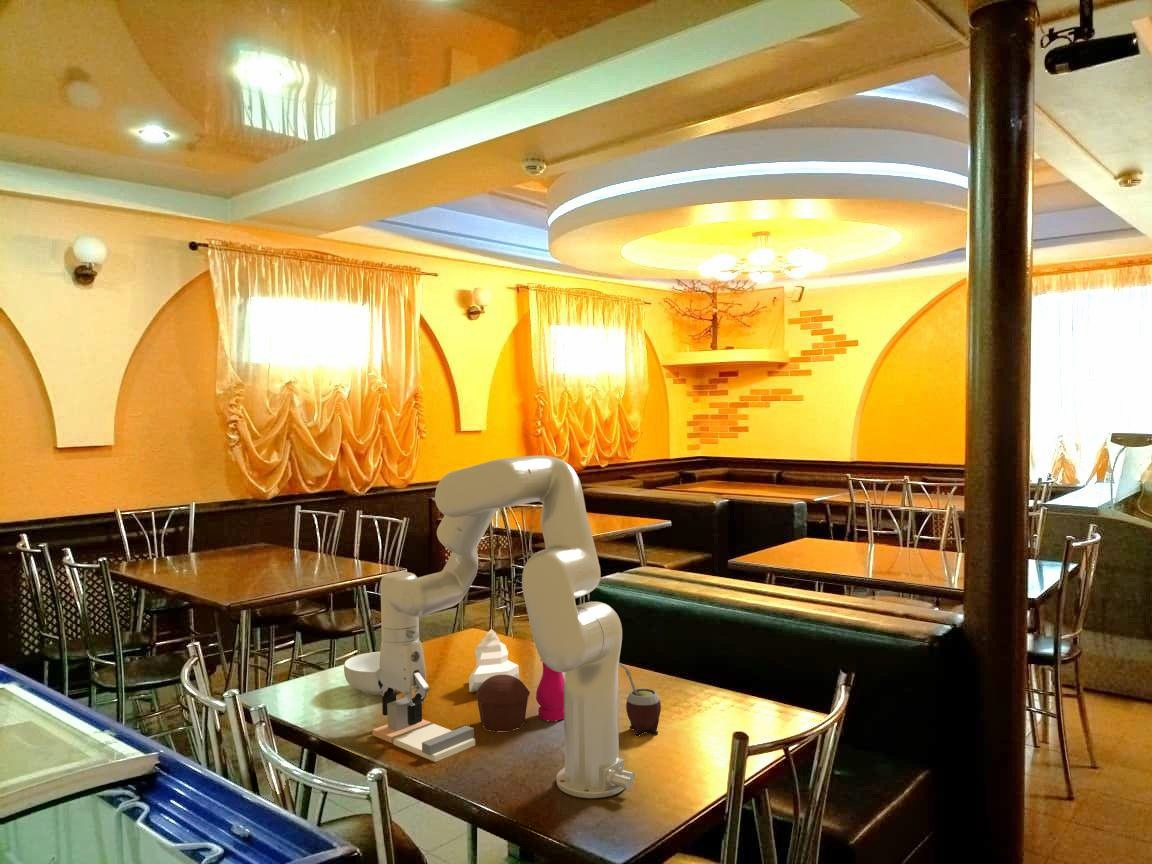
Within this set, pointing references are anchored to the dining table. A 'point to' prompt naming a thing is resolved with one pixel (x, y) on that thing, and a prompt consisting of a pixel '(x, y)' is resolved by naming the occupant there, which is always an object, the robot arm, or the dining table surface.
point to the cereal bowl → (363, 672)
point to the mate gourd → (642, 708)
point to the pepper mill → (551, 695)
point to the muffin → (502, 703)
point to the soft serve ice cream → (491, 661)
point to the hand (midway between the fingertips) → (402, 717)
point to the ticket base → (427, 735)
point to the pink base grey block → (397, 721)
